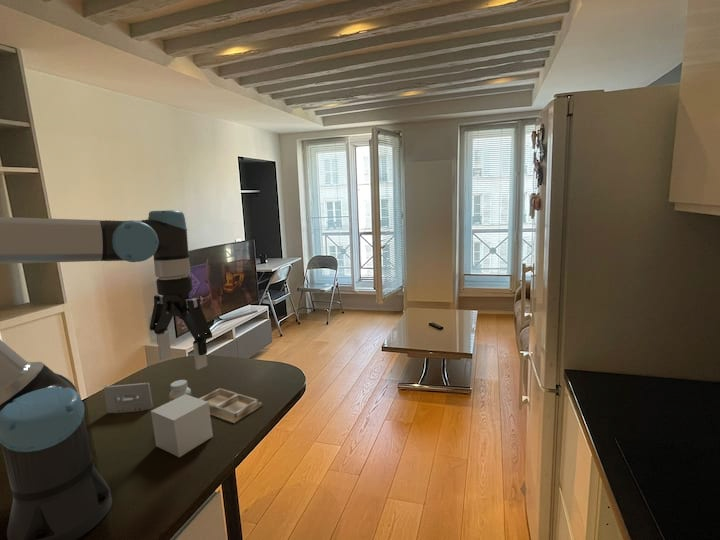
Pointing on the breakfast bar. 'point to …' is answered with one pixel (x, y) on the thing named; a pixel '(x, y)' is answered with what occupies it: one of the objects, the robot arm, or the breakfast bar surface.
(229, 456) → the breakfast bar surface
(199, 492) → the breakfast bar surface
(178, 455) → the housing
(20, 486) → the robot arm
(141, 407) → the cassette
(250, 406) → the beige divided tray
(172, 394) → the supplement bottle
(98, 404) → the breakfast bar surface
